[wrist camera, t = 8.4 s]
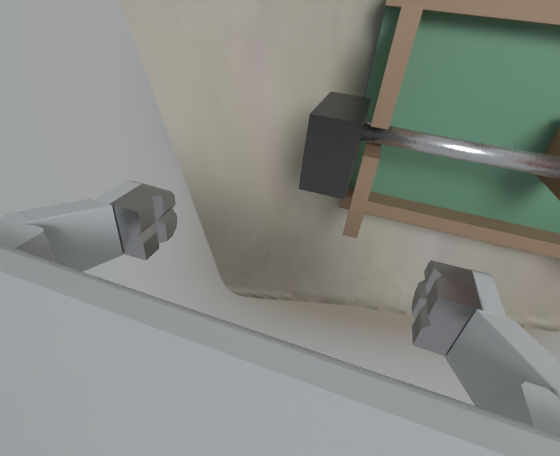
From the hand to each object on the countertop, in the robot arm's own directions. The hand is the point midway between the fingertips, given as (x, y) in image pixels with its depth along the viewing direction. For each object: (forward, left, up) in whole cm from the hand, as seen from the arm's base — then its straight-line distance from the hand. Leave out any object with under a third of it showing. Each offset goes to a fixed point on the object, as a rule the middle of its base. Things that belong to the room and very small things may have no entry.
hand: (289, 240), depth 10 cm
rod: (-7, 0, -18) cm, 20 cm away
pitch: (-11, 0, -22) cm, 24 cm away
